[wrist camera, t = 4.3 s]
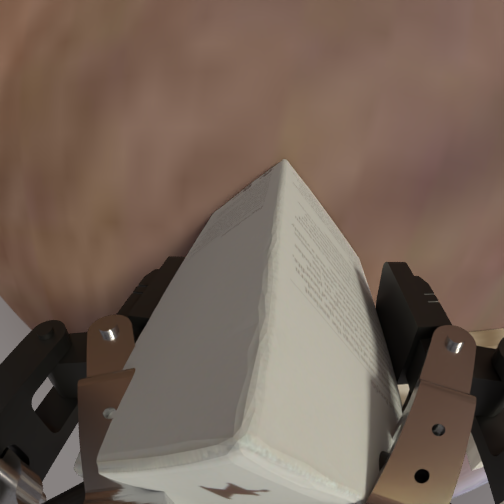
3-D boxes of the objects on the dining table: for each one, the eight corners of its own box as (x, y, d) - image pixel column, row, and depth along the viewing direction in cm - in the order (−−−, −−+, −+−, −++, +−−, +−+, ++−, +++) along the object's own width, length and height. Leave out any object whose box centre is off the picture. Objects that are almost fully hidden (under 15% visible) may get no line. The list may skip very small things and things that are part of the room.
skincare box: (210, 213, 14) (58, 465, 4) (285, 155, 13) (246, 443, 2) (290, 304, 16) (271, 552, 5) (362, 260, 14) (430, 524, 4)
